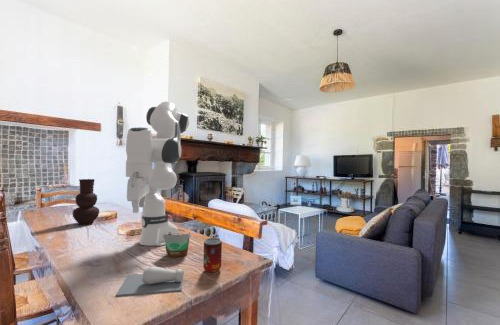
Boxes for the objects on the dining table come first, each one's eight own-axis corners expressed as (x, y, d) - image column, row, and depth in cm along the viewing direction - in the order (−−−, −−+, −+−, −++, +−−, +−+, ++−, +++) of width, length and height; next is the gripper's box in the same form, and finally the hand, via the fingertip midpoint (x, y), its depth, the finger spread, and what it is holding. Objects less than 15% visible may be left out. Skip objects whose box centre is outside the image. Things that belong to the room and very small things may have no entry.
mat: (115, 296, 77) (115, 294, 77) (127, 276, 91) (127, 275, 91) (181, 290, 81) (181, 289, 81) (183, 272, 95) (183, 271, 95)
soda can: (199, 270, 97) (200, 239, 98) (214, 265, 102) (215, 236, 102) (209, 276, 92) (210, 243, 92) (224, 271, 97) (225, 240, 97)
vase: (103, 223, 168) (104, 179, 168) (78, 227, 155) (79, 180, 155) (92, 220, 176) (93, 178, 176) (67, 224, 163) (68, 179, 163)
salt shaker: (146, 266, 88) (183, 267, 91) (143, 284, 85) (181, 284, 88) (144, 265, 83) (183, 266, 86) (140, 284, 80) (181, 284, 83)
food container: (162, 260, 107) (162, 237, 107) (163, 255, 113) (163, 233, 113) (191, 257, 110) (191, 235, 110) (190, 252, 116) (191, 231, 116)
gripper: (142, 173, 80) (142, 215, 80) (153, 170, 100) (152, 204, 100) (121, 173, 78) (121, 216, 78) (136, 170, 98) (136, 204, 98)
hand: (139, 209), depth 89 cm, fingers open, 8 cm apart
